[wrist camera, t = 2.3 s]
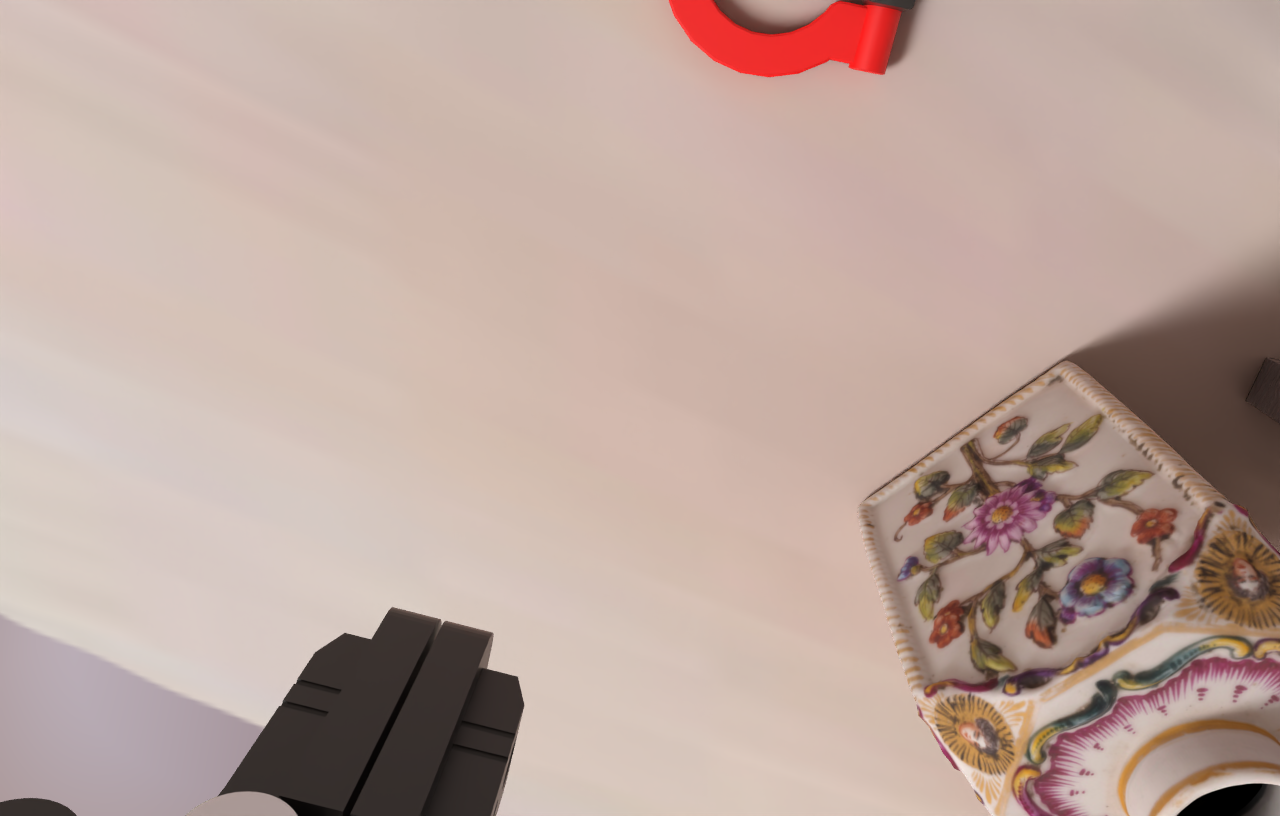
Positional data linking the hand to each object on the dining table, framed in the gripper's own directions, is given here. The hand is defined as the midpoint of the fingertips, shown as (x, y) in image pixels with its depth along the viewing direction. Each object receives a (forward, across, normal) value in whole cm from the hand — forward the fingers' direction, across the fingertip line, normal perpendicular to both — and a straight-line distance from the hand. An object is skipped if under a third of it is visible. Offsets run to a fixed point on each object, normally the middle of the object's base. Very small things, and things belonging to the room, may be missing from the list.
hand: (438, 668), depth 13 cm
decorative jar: (+28, +21, -7) cm, 35 cm away
